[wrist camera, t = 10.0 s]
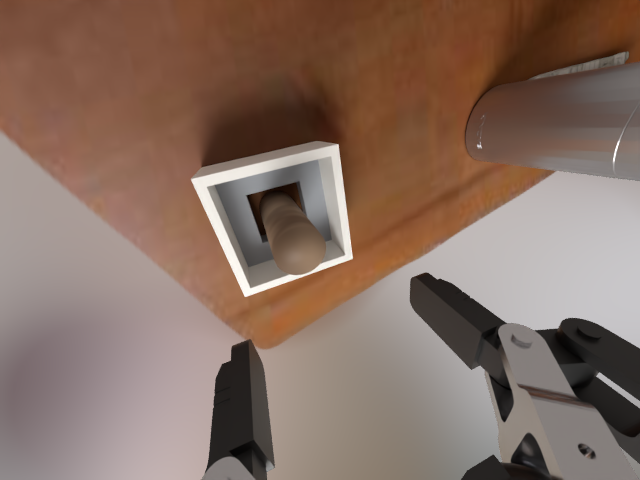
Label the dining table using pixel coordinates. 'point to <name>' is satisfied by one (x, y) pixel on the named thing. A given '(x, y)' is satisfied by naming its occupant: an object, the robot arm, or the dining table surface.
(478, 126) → the robot arm
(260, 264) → the open box
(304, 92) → the dining table surface
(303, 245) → the peg
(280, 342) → the dining table surface
